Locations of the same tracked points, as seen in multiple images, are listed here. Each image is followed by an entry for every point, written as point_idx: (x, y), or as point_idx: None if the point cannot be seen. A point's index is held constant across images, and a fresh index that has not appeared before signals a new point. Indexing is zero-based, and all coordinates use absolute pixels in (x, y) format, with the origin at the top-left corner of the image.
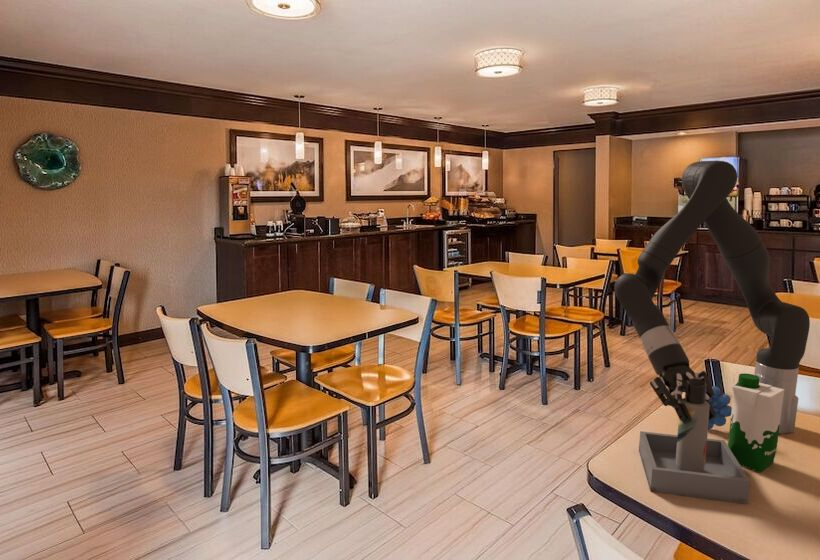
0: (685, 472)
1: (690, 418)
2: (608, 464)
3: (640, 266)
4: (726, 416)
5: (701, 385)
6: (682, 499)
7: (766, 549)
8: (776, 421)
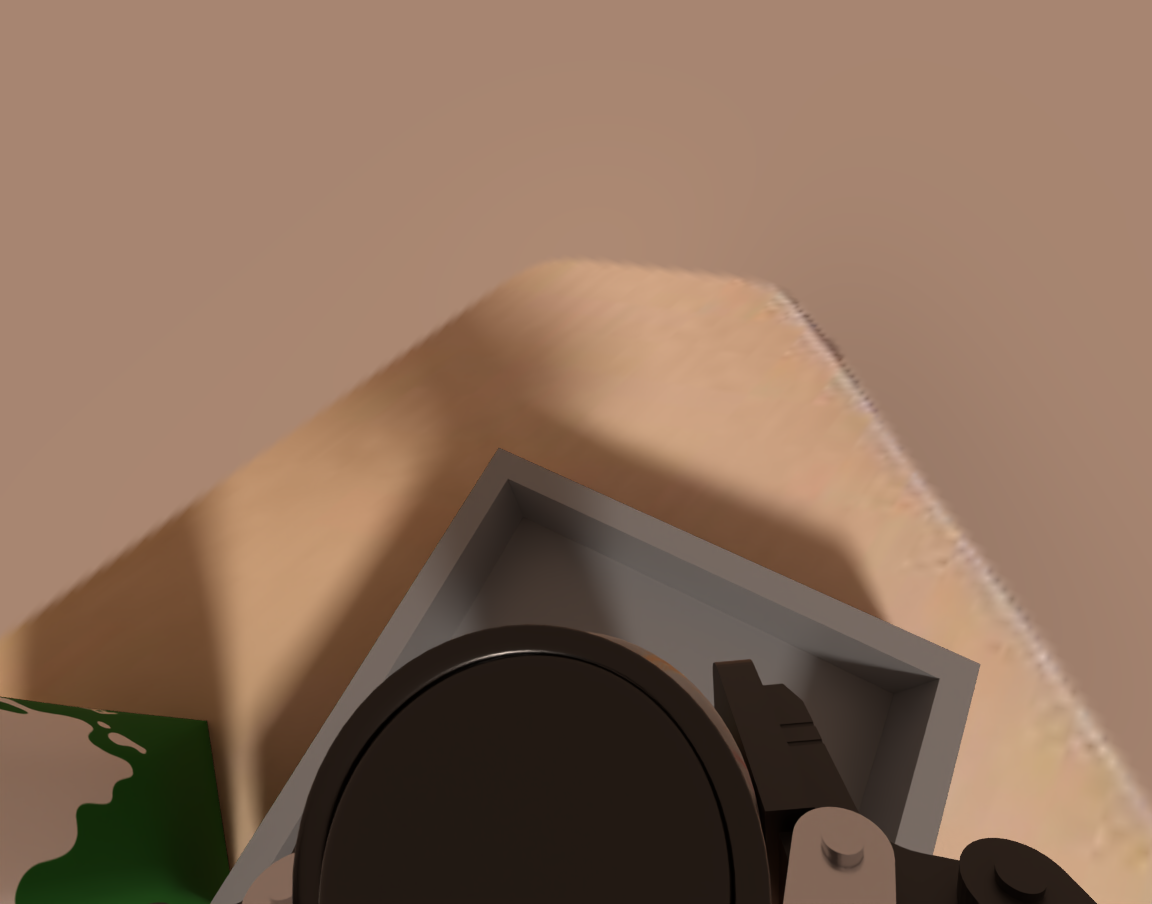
0: (783, 585)
1: (733, 662)
2: None
3: None
4: None
5: (525, 671)
6: None
7: (670, 285)
8: None
